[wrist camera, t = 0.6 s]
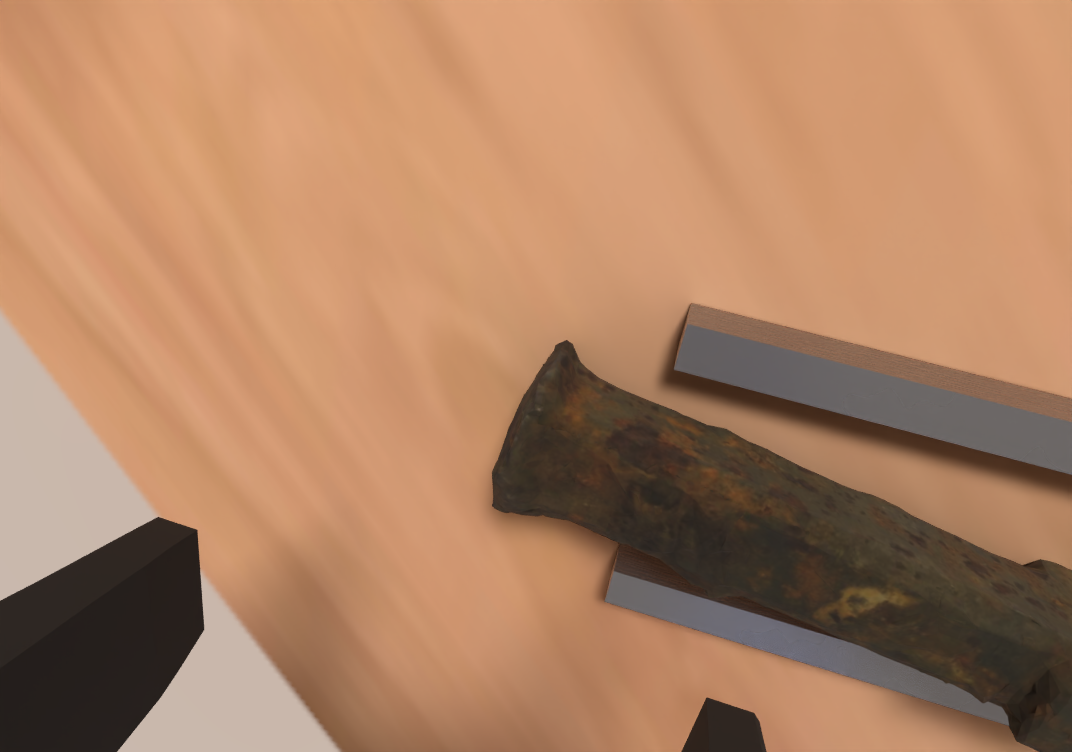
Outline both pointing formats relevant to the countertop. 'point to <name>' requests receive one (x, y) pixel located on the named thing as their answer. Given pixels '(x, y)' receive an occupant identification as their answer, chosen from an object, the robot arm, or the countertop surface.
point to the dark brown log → (793, 543)
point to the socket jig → (862, 392)
